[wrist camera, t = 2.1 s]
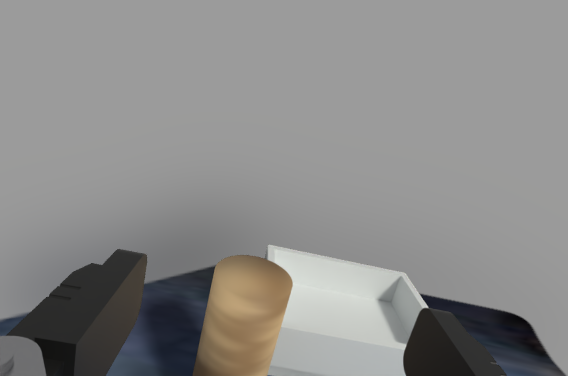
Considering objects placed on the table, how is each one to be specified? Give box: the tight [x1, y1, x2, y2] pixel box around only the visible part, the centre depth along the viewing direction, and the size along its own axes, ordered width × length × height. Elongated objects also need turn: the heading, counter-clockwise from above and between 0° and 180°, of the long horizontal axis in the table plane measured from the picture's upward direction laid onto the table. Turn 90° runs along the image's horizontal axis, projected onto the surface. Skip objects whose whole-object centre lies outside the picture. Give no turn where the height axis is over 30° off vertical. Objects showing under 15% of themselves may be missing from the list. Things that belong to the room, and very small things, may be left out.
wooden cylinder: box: [193, 255, 293, 376], centre depth 24 cm, size 5×5×12 cm
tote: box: [265, 245, 428, 376], centre depth 38 cm, size 18×15×5 cm
